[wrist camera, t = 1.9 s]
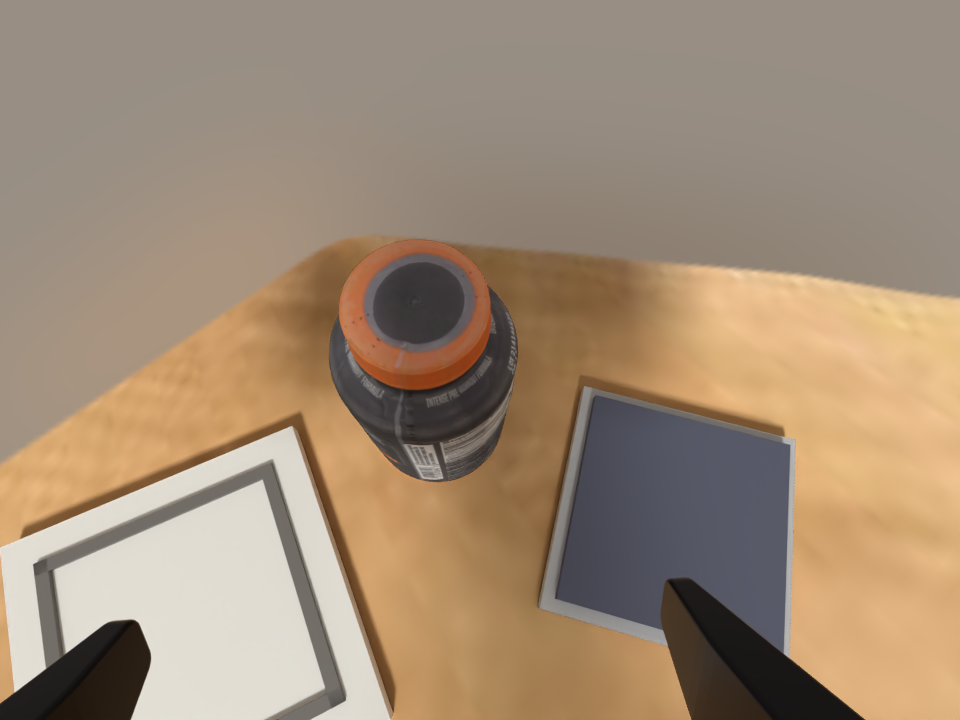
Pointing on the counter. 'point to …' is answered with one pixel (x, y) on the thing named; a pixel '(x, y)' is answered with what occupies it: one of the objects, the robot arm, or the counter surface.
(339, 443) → the counter surface
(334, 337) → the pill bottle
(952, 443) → the counter surface
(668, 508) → the ink pad
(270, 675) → the board
